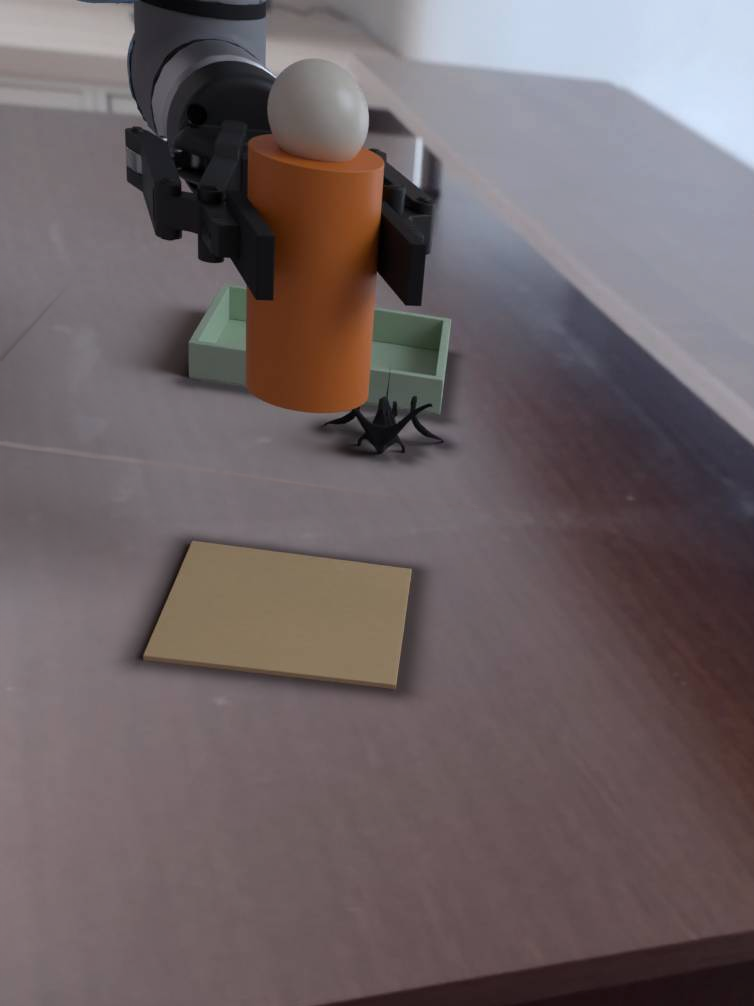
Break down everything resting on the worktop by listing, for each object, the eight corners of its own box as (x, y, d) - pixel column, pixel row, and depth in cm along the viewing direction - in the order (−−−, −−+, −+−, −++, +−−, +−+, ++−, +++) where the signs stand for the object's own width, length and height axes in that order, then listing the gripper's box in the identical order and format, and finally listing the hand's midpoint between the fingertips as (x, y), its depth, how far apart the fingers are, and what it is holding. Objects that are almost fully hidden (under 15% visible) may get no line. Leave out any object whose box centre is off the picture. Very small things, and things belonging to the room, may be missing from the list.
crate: (188, 385, 90) (188, 341, 88) (222, 323, 100) (222, 282, 98) (439, 422, 92) (443, 380, 91) (447, 357, 103) (451, 318, 101)
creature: (328, 433, 90) (313, 455, 83) (333, 351, 88) (319, 367, 81) (443, 450, 91) (438, 473, 84) (452, 370, 89) (448, 386, 82)
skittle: (236, 403, 63) (239, 58, 54) (254, 359, 68) (259, 36, 59) (363, 420, 64) (386, 85, 55) (372, 376, 69) (394, 60, 60)
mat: (143, 662, 63) (142, 655, 63) (192, 546, 73) (191, 540, 73) (395, 691, 65) (396, 684, 65) (411, 574, 74) (411, 568, 74)
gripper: (393, 214, 80) (530, 360, 64) (56, 192, 72) (118, 351, 56) (403, 77, 76) (553, 197, 60) (46, 37, 68) (109, 163, 52)
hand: (342, 271), depth 58 cm, fingers closed on skittle, 6 cm apart
